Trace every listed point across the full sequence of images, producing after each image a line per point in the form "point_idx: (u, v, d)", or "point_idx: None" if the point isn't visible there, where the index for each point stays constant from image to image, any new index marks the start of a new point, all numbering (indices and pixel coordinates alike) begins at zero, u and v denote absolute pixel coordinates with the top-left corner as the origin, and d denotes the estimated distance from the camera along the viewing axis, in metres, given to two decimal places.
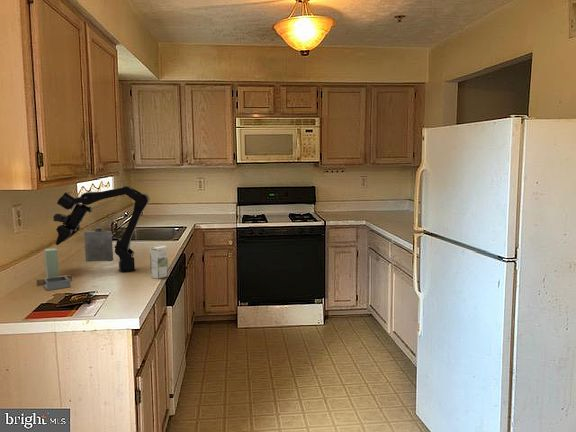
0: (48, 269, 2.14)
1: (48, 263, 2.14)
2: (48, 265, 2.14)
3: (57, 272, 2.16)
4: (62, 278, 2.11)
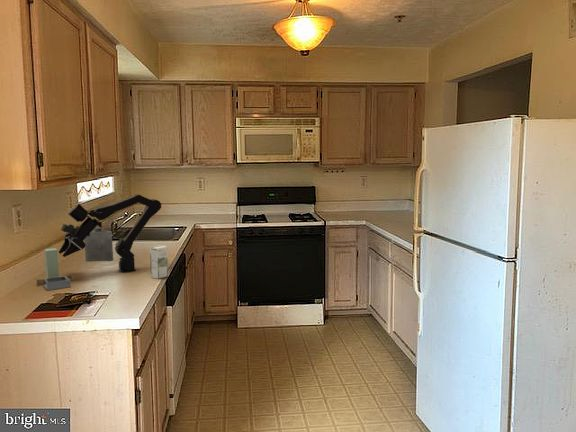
0: (48, 269, 2.14)
1: (48, 263, 2.14)
2: (48, 265, 2.14)
3: (57, 272, 2.16)
4: (62, 278, 2.11)
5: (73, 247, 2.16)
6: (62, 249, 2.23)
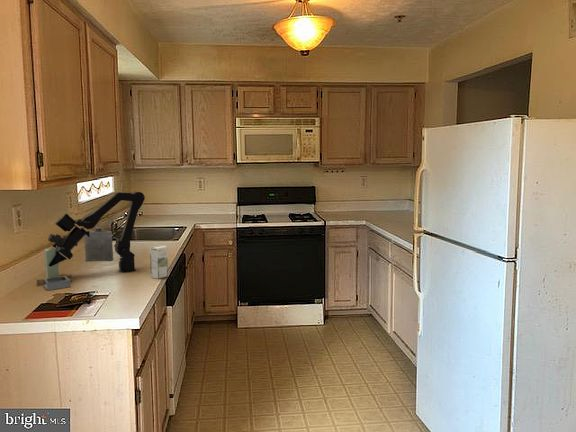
0: (48, 269, 2.14)
1: (48, 263, 2.14)
2: (48, 265, 2.14)
3: (57, 272, 2.16)
4: (62, 278, 2.11)
5: (59, 256, 2.15)
6: None
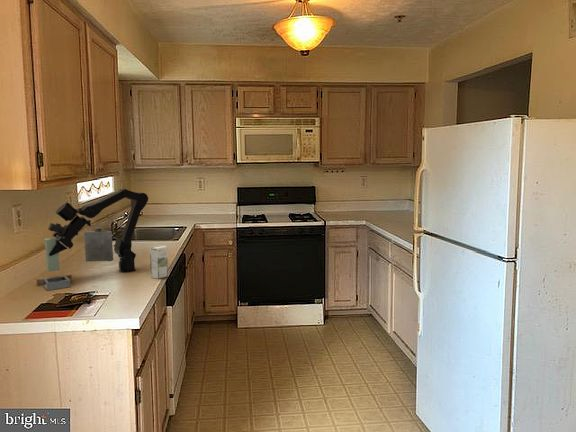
0: (48, 259, 2.10)
1: (48, 252, 2.10)
2: (48, 254, 2.10)
3: (58, 262, 2.12)
4: (62, 278, 2.11)
5: (59, 246, 2.11)
6: None
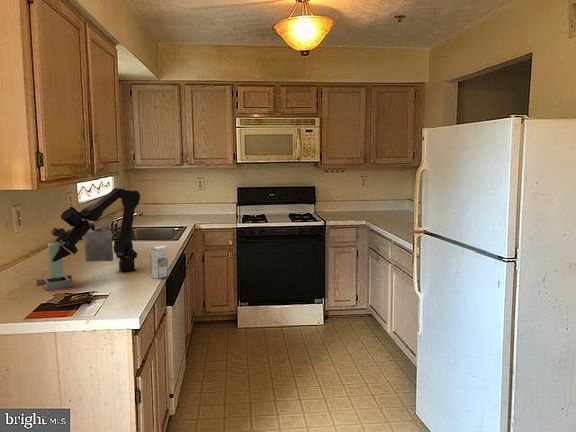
0: (51, 264, 2.03)
1: (51, 258, 2.02)
2: (51, 260, 2.02)
3: (61, 268, 2.05)
4: (62, 278, 2.11)
5: (63, 251, 2.04)
6: None
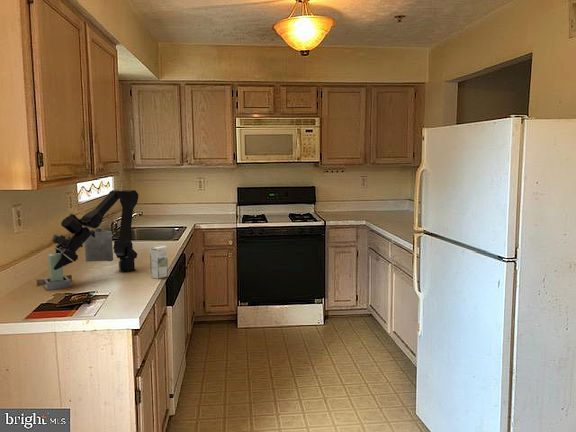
0: (52, 275, 2.03)
1: (52, 269, 2.03)
2: (52, 271, 2.03)
3: (62, 278, 2.06)
4: None
5: (65, 259, 2.02)
6: None
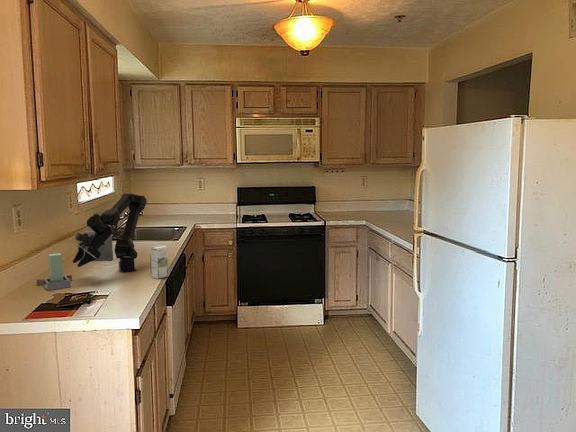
0: (52, 275, 2.03)
1: (52, 269, 2.03)
2: (52, 271, 2.03)
3: (62, 278, 2.06)
4: None
5: (88, 257, 2.08)
6: (76, 258, 2.15)
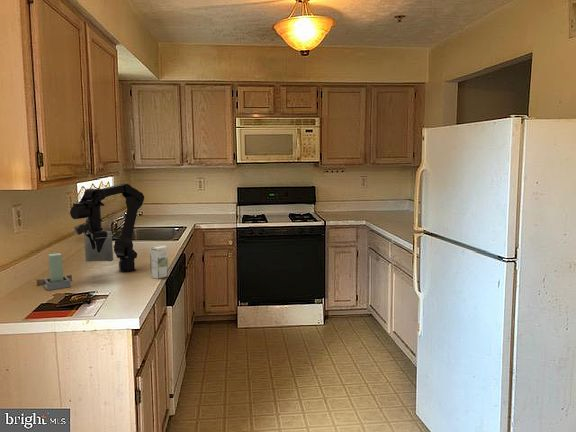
0: (52, 275, 2.03)
1: (52, 269, 2.03)
2: (52, 271, 2.03)
3: (62, 278, 2.06)
4: None
5: (99, 240, 2.12)
6: (93, 244, 2.21)
